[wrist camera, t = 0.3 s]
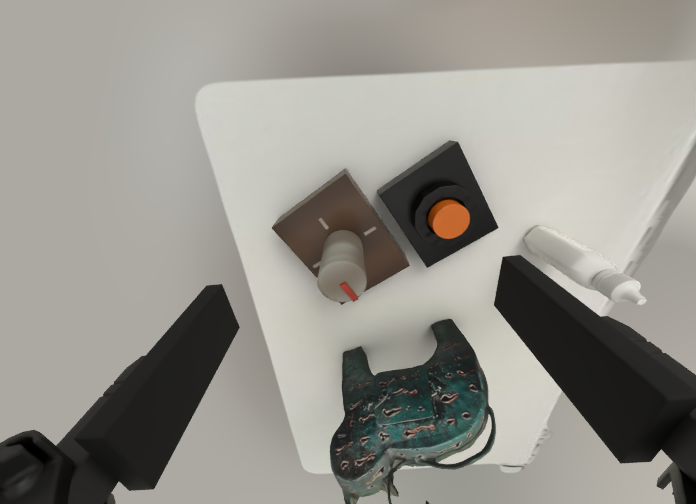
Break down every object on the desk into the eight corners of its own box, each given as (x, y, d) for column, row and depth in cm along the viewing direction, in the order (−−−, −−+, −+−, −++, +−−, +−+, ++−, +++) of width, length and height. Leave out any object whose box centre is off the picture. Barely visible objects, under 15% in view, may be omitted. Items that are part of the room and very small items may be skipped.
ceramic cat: (344, 371, 43) (342, 549, 25) (328, 346, 40) (312, 525, 22) (462, 336, 39) (557, 515, 21) (452, 305, 36) (552, 481, 19)
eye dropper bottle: (557, 214, 30) (672, 264, 20) (565, 250, 32) (672, 314, 22) (520, 231, 31) (609, 288, 21) (530, 265, 33) (616, 333, 23)
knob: (316, 243, 29) (306, 279, 22) (347, 222, 27) (347, 253, 21) (339, 270, 30) (336, 311, 24) (370, 251, 29) (376, 289, 23)
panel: (278, 218, 30) (271, 228, 28) (345, 168, 28) (345, 173, 25) (341, 291, 35) (341, 305, 32) (404, 254, 33) (410, 266, 30)
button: (421, 212, 26) (426, 218, 25) (453, 192, 25) (460, 196, 24) (437, 238, 28) (442, 245, 26) (468, 220, 27) (475, 226, 25)
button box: (377, 190, 29) (381, 199, 25) (450, 140, 27) (465, 142, 23) (422, 259, 33) (431, 275, 29) (489, 221, 31) (507, 234, 27)
